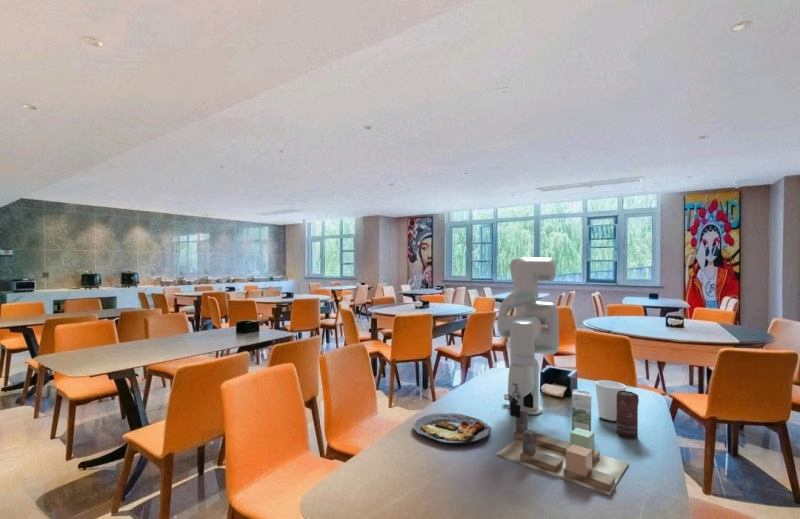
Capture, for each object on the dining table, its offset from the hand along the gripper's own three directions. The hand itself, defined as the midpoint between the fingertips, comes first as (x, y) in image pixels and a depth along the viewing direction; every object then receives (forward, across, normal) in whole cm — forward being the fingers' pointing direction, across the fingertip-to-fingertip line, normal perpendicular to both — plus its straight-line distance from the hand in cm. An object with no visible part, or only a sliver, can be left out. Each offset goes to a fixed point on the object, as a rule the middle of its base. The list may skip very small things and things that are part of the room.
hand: (521, 411), depth 130 cm
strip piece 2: (+7, +14, +25) cm, 29 cm away
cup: (+10, -37, +17) cm, 42 cm away
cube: (+6, +1, +19) cm, 20 cm away
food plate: (+9, +12, -19) cm, 24 cm away
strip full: (+7, +1, +11) cm, 13 cm away
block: (+5, +14, +22) cm, 26 cm away
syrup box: (+9, -14, +14) cm, 22 cm away
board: (+8, +7, +15) cm, 18 cm away
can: (+9, -25, +25) cm, 37 cm away
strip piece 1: (+7, +14, +12) cm, 20 cm away
